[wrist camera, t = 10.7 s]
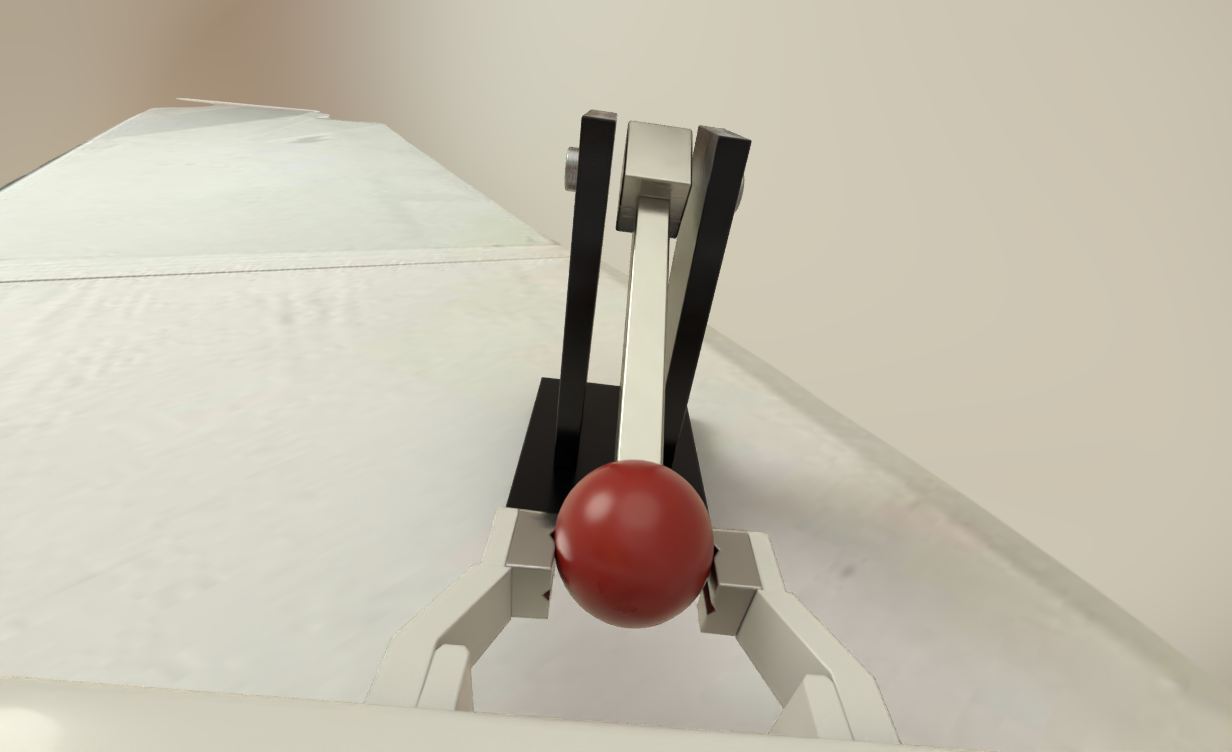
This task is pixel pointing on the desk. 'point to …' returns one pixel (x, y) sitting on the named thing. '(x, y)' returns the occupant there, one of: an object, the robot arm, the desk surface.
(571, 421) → the black lever base
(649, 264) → the lever
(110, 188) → the desk surface
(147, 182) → the desk surface
